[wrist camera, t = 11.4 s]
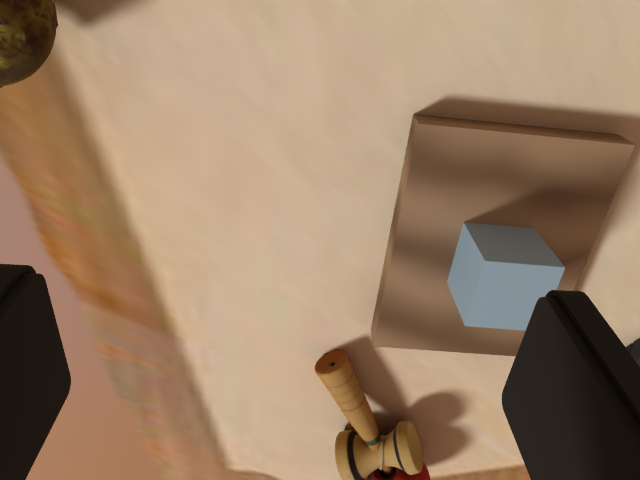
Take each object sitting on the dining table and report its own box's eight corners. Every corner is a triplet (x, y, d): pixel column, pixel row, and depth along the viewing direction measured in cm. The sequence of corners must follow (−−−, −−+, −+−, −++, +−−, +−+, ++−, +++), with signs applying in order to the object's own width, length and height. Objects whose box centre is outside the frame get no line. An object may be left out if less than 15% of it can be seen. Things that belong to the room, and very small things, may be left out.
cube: (463, 222, 35) (485, 261, 31) (534, 228, 35) (565, 267, 31) (446, 282, 38) (464, 326, 33) (513, 287, 38) (539, 331, 34)
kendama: (283, 360, 46) (365, 496, 52) (288, 403, 40) (379, 552, 46) (361, 321, 45) (434, 463, 51) (377, 359, 39) (458, 514, 45)
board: (413, 114, 33) (418, 123, 32) (619, 135, 34) (635, 145, 33) (370, 329, 42) (373, 346, 40) (535, 341, 43) (544, 358, 41)
